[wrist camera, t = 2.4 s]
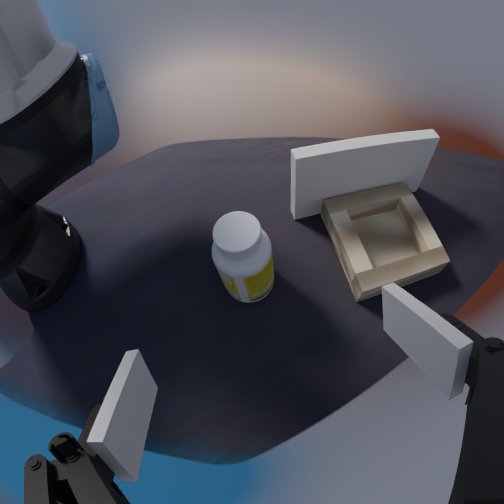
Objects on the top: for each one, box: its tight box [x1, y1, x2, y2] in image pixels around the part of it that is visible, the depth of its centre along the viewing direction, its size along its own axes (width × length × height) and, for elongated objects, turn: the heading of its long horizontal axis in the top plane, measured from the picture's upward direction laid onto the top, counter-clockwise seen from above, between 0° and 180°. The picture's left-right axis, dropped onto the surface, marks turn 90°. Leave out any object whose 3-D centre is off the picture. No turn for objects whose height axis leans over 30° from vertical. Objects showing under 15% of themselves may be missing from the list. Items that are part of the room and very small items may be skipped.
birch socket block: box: [321, 183, 450, 302], centre depth 32 cm, size 12×12×3 cm
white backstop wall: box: [291, 129, 440, 220], centre depth 32 cm, size 2×18×10 cm, turn 103°
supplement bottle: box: [212, 211, 274, 303], centre depth 29 cm, size 5×5×10 cm
